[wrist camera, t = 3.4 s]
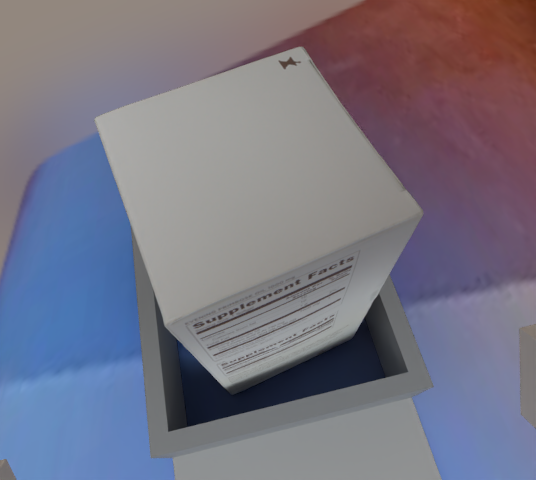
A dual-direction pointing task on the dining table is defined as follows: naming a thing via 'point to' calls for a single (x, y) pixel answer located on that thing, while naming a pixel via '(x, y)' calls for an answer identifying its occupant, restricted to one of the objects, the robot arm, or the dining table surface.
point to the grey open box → (294, 412)
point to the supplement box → (257, 214)
